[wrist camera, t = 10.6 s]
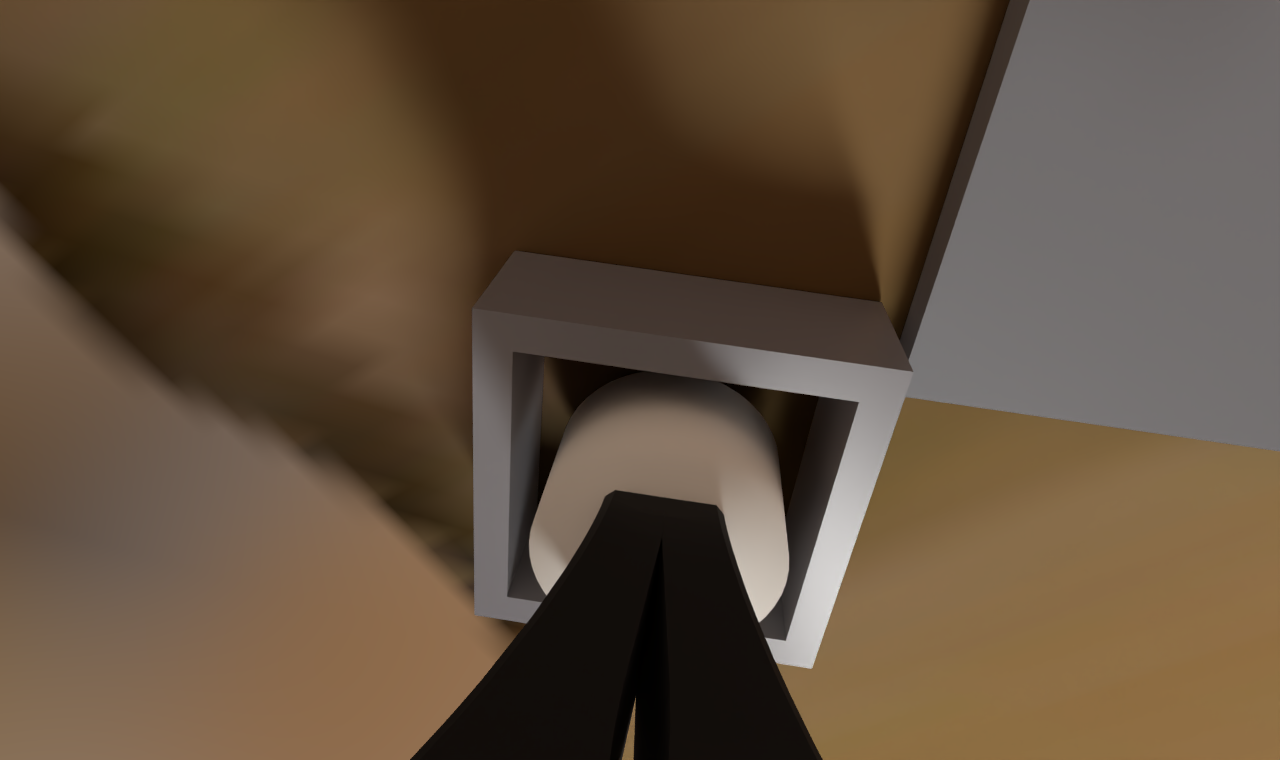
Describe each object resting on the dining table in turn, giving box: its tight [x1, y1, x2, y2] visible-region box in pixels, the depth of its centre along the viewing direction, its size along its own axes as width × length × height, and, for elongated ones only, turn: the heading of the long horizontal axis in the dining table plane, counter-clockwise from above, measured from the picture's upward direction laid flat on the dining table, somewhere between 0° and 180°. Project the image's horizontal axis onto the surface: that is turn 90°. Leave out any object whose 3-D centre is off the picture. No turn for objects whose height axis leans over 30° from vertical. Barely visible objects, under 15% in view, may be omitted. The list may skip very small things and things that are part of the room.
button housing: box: [472, 251, 913, 669], centre depth 11 cm, size 5×5×2 cm
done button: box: [529, 371, 789, 622], centre depth 10 cm, size 3×3×2 cm
